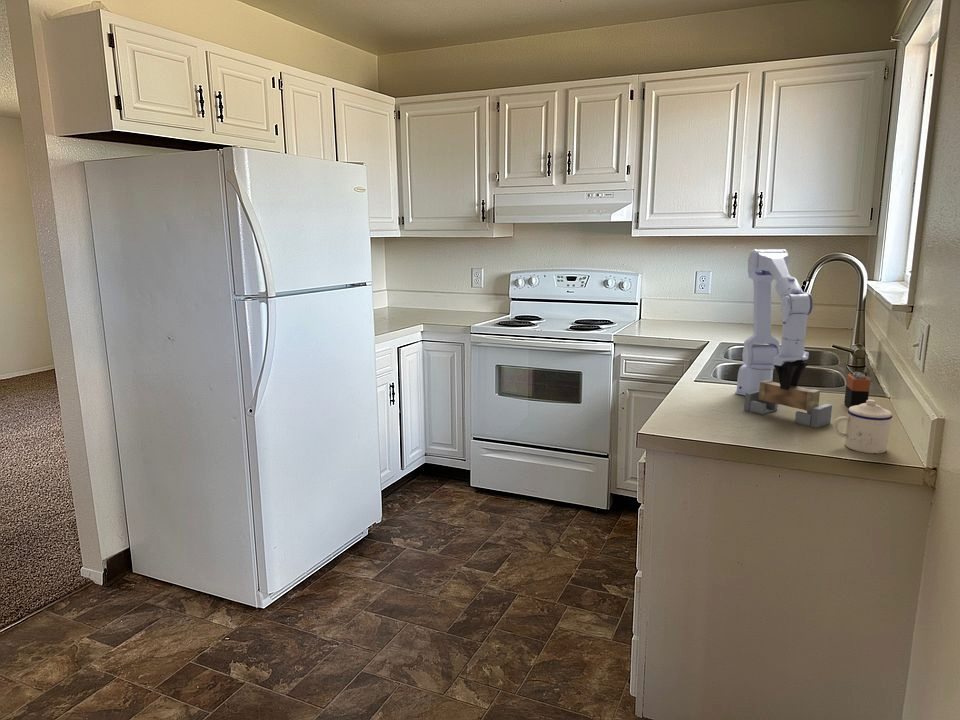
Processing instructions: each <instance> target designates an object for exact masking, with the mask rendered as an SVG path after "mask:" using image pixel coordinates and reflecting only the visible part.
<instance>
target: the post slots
mask: <svg viewBox="0 0 960 720" xmlns="http://www.w3.org/2000/svg"><path fill="white" fill-rule="evenodd" d="M758 399H759V389H758V390H754V391H751V392H747V393H745V395H744V404H743V405H744V406H743V410H744V411H746V412H750V413H754V414H758V413H759V414H758V415H763V416H764V415H767V414H770V413H772V412H776V411H778V405H779V404H776V403H772V402H767V401H762V400H758ZM832 410H833V404H830V403H823V404H821V405H819V406H817V407H814V408H812V412H811V411H806V412H805V411H800V410H798V411H795V417H794V424H798V425H803V426H806V427H811V428H814V429H818V428H821V427H824V426H826V425H828V424H831V420H832Z"/></svg>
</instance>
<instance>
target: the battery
mask: <svg viewBox="0 0 960 720" xmlns="http://www.w3.org/2000/svg"><path fill="white" fill-rule="evenodd" d="M870 387H871V379H870V378H868V377H867V376H866V374H862V373H861V372H859V371H854V373H848V374H847V376H846V385H845V392H844V401H843V404H845V406H846V407H848V409H849V408H850V407H851V406H856V405H860V404H863V403H866V401H867V400H869V396H870Z"/></svg>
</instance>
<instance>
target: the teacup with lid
mask: <svg viewBox="0 0 960 720" xmlns="http://www.w3.org/2000/svg"><path fill="white" fill-rule="evenodd" d="M847 414H848V415H847V416H844V415H843V416H838V417H837V418H835V419H834V421H833V424H832V427H833V430H834V432H835V433H836V434H837V435H838V436H839V437H841V438H845V440H844V446H846V447H847V448H849V449H851V450H853V451H856V452H860V453H865V454H874V453H876V454H883V453H885V452H886V451H887V450H888V442H889V435H890V428H891V421H892V418H893V413H892V412H891V411H890V410H888V409H886V408H883V407H882V406H880V405H879V404H877V401H876V400H874V399H869V398H868V400H867V401H866V403H863V404H860V405H856V406H851V407H850V408H849V407H848V409H847ZM841 421H847V423H846V430H845V433H842V432H839V429H838V424H839V423H840V422H841Z"/></svg>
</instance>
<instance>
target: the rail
mask: <svg viewBox="0 0 960 720" xmlns="http://www.w3.org/2000/svg"><path fill="white" fill-rule="evenodd" d="M820 395H821V390H819V389H815V388H813V389H811V388H805V387H801V386H797V387H796V386H791V385H790V388H789V390H786V389H781V388H780V382H776V381H773V380H772V381H770V380H764V381H760V387H759V399H758V400H762V401H767V402H772V403H776V404H778V405H780V406H785V407H790V408H795V409H798V410H804V411H806V412H807V411H811V412H812V408H814V407H817V406H820V405H819V404H820V397H821V396H820Z"/></svg>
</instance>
